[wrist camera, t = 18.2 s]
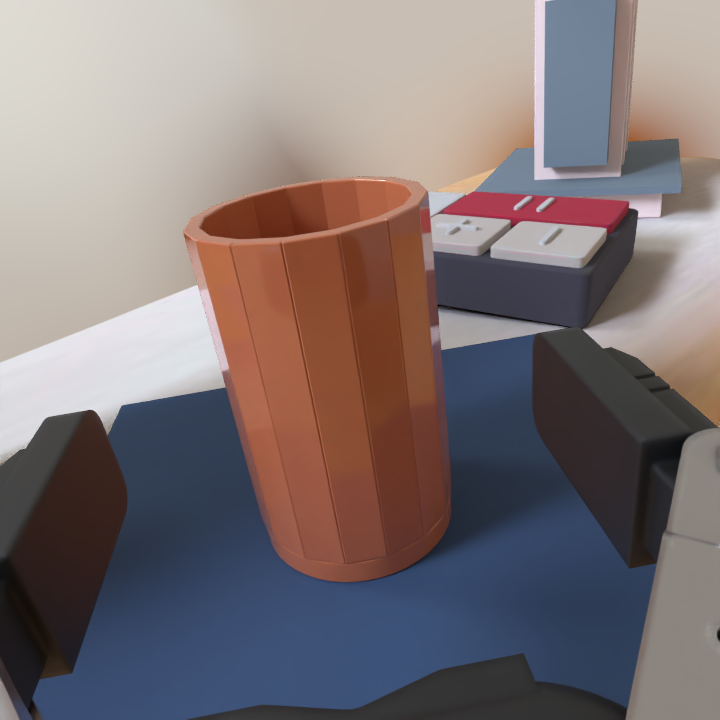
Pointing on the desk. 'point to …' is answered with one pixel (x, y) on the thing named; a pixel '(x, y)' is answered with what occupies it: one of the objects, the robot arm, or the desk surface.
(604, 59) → the desk lamp
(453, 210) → the calculator
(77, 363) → the desk surface
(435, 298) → the pencil cup
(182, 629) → the cloth
